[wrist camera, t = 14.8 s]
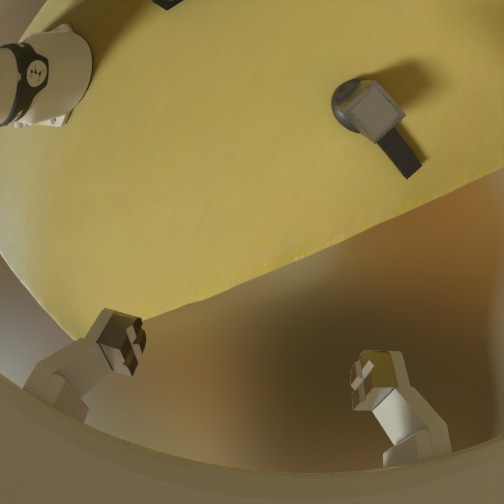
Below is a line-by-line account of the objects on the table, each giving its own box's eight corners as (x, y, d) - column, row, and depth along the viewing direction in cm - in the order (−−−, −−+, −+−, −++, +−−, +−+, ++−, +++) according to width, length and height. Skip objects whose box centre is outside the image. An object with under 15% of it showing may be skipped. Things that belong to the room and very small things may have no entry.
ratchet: (320, 104, 31) (325, 106, 27) (356, 70, 28) (366, 68, 23) (394, 184, 36) (407, 198, 31) (426, 154, 32) (443, 165, 28)
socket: (333, 105, 29) (343, 109, 24) (360, 80, 27) (375, 79, 22) (361, 134, 31) (375, 143, 26) (387, 109, 28) (406, 115, 23)
